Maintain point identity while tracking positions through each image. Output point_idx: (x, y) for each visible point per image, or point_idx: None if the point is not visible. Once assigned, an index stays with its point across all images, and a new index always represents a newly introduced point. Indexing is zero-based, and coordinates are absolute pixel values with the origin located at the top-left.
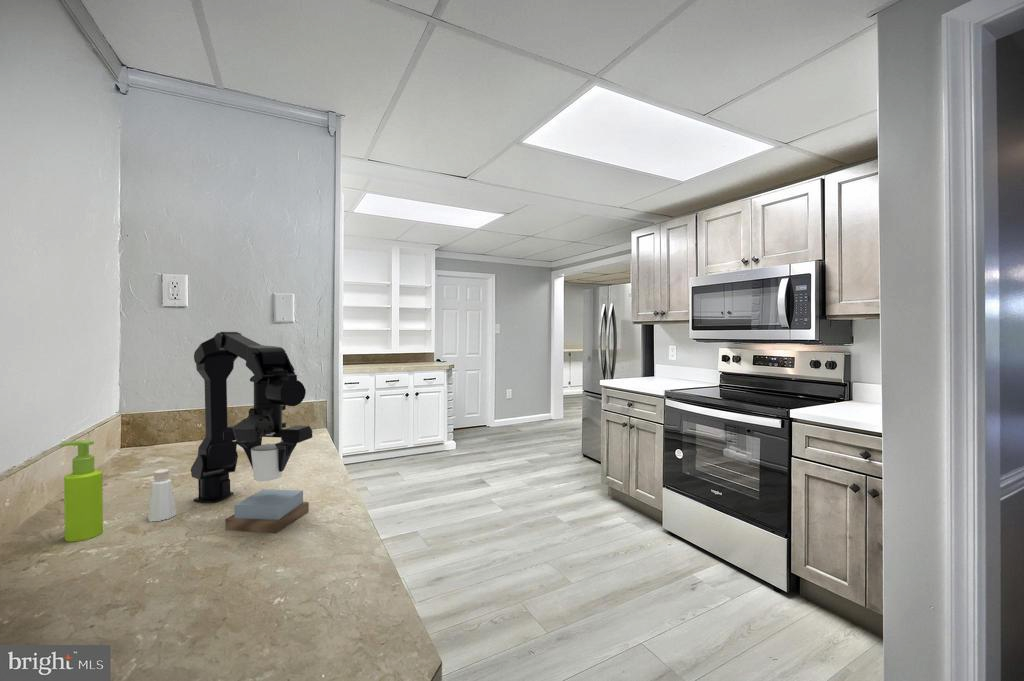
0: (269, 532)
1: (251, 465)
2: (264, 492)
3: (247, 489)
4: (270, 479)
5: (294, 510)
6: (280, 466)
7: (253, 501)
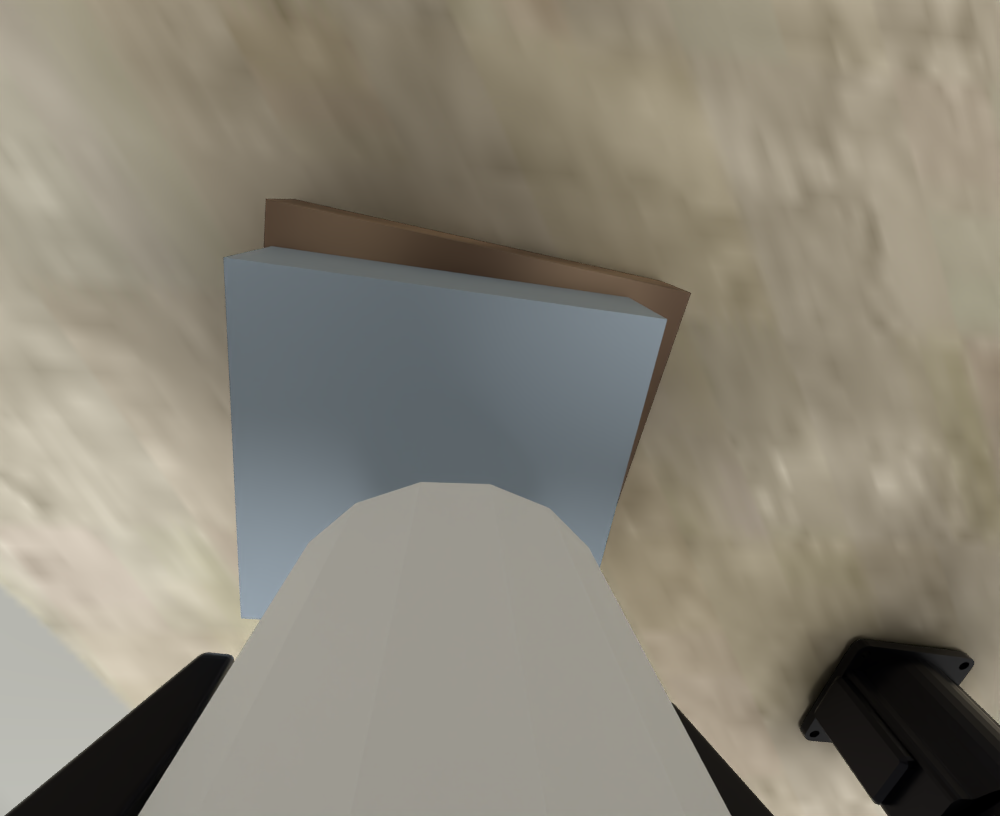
0: (343, 210)
1: (723, 764)
2: None
3: (754, 779)
4: (344, 516)
5: None
6: (141, 723)
7: (533, 392)
